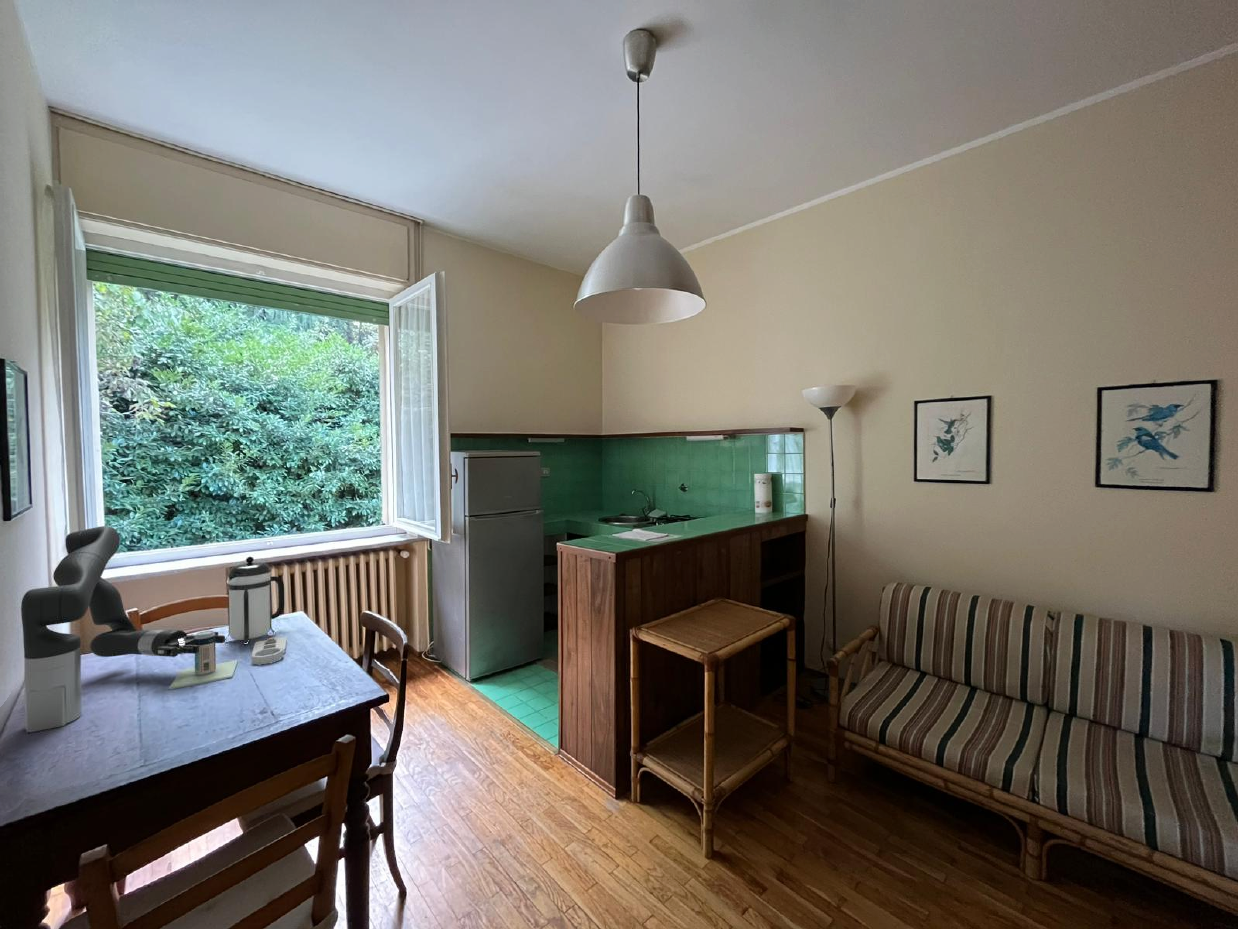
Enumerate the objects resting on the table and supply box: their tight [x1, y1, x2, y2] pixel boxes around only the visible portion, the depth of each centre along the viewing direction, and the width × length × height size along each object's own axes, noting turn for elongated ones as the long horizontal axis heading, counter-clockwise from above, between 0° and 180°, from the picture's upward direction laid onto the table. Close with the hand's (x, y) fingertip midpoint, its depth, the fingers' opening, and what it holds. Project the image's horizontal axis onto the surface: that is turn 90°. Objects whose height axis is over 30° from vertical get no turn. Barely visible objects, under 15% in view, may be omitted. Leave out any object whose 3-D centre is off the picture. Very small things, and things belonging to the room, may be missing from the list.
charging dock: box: [251, 636, 287, 665], centre depth 166 cm, size 22×9×2 cm, turn 32°
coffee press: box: [225, 556, 285, 644], centre depth 182 cm, size 17×16×30 cm
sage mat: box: [168, 660, 239, 690], centre depth 149 cm, size 14×14×1 cm
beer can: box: [194, 630, 217, 675], centre depth 149 cm, size 5×5×12 cm
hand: (211, 644), depth 149 cm, fingers open, 8 cm apart
